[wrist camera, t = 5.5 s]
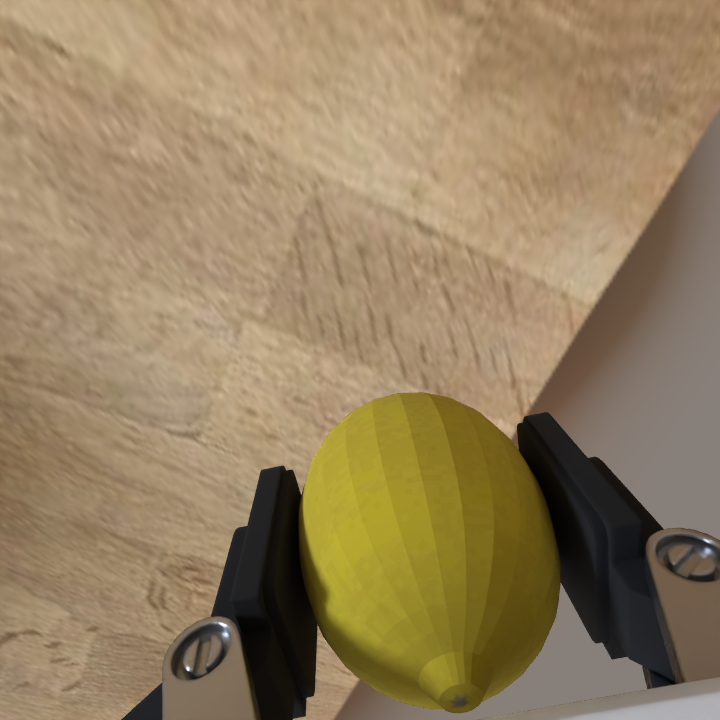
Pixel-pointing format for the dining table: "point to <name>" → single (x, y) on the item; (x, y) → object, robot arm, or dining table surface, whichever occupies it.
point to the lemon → (428, 551)
